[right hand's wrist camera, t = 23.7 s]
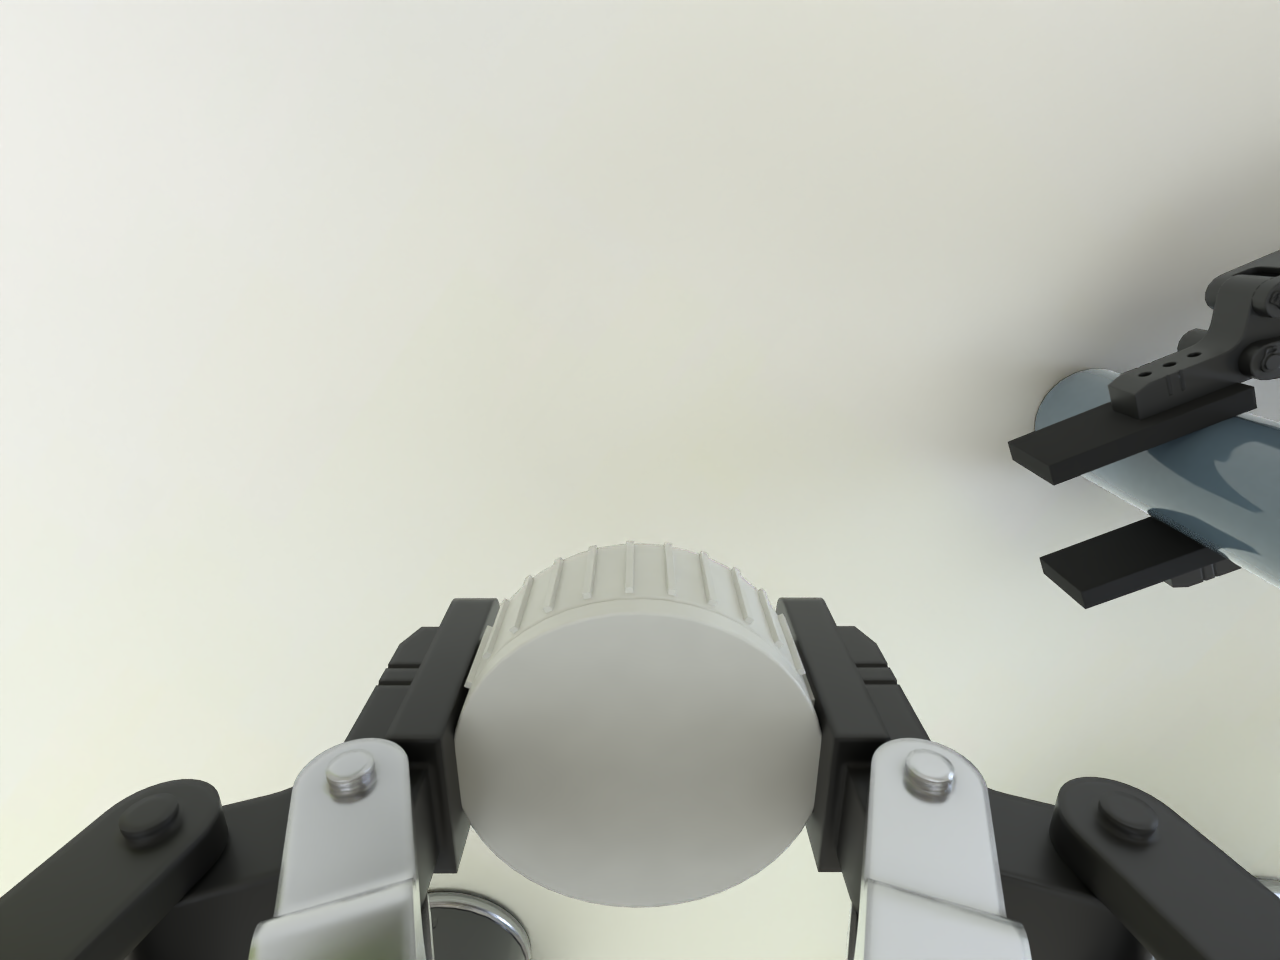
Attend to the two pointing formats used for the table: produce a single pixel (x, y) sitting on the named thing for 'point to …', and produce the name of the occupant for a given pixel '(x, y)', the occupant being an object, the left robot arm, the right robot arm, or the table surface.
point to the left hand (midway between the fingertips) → (1047, 523)
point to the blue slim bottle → (1194, 477)
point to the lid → (638, 729)
